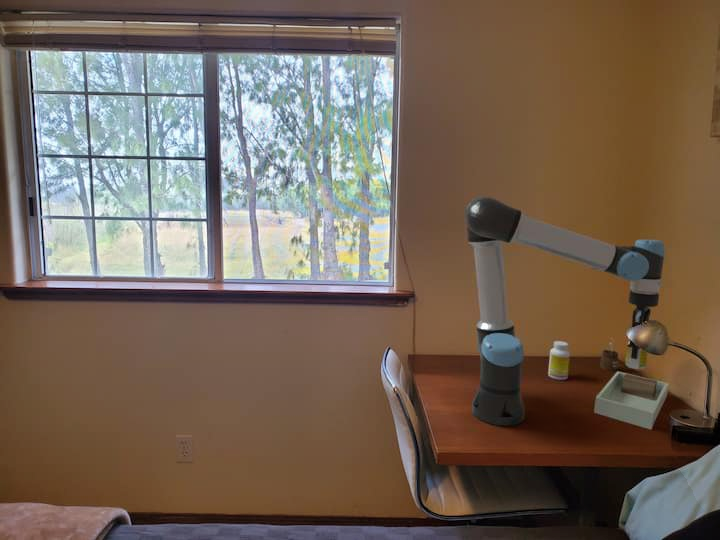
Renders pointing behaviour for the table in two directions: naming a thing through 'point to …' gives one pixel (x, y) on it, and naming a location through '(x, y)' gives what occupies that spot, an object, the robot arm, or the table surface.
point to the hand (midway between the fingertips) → (635, 365)
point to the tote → (629, 403)
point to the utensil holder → (609, 359)
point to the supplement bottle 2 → (642, 358)
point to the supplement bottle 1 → (559, 361)
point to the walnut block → (639, 386)
